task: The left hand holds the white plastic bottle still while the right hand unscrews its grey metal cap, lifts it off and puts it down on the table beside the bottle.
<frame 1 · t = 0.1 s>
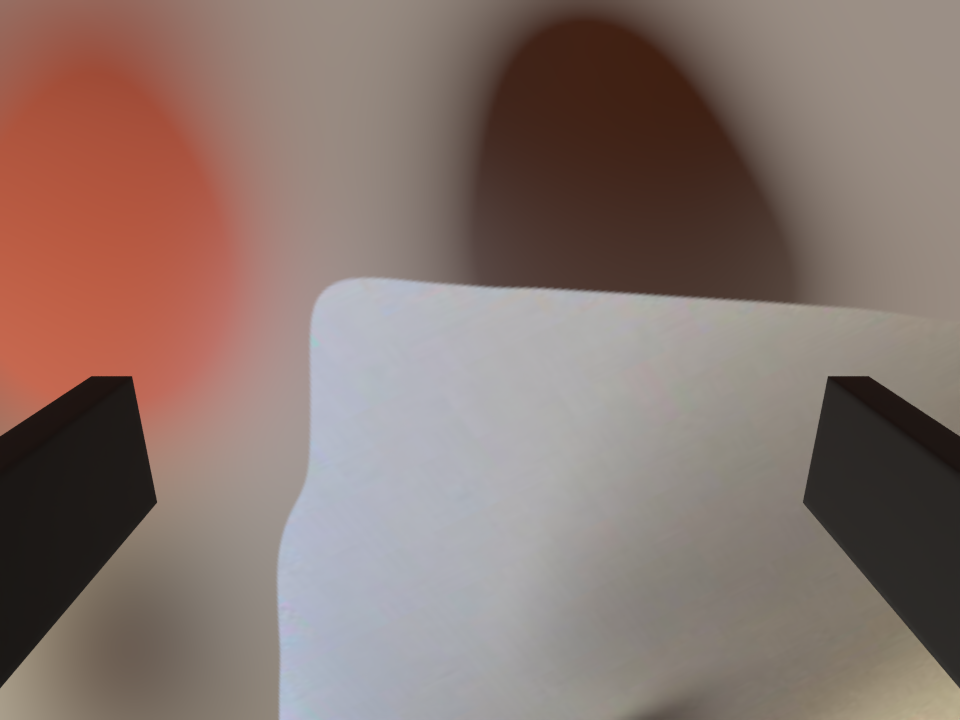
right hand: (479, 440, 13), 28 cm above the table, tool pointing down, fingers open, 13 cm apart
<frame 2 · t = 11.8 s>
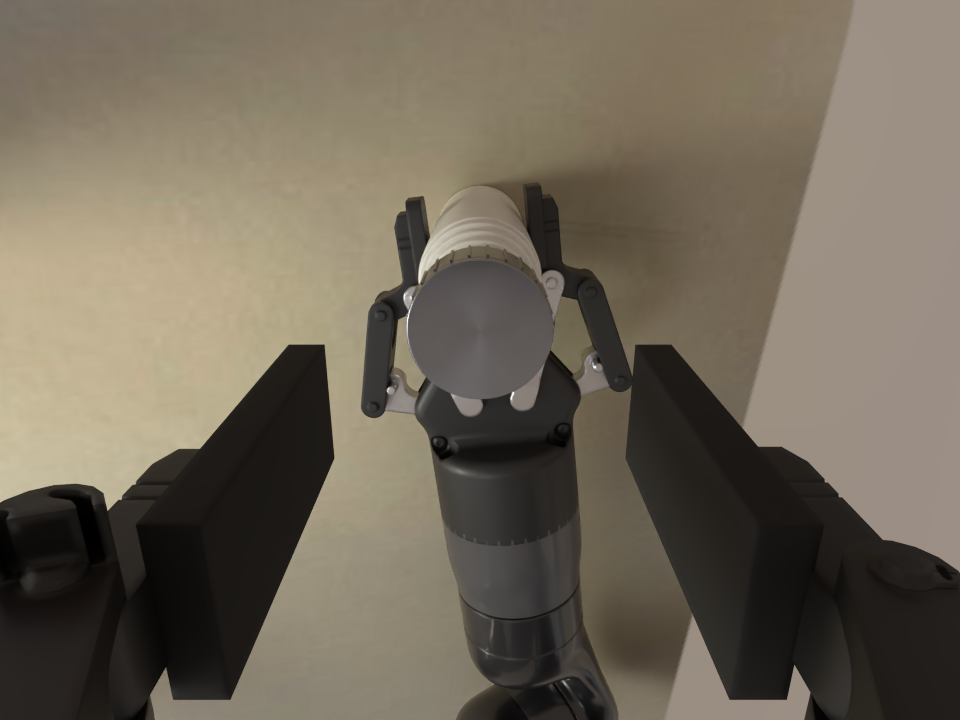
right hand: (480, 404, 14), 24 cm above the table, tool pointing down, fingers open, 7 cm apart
left hand: (472, 193, 30), fingers closed on bottle, 4 cm apart
cap: (480, 329, 19), point 19 cm above the table, screwed on, not yet turned
bottle: (479, 229, 37), on the table, touching left hand
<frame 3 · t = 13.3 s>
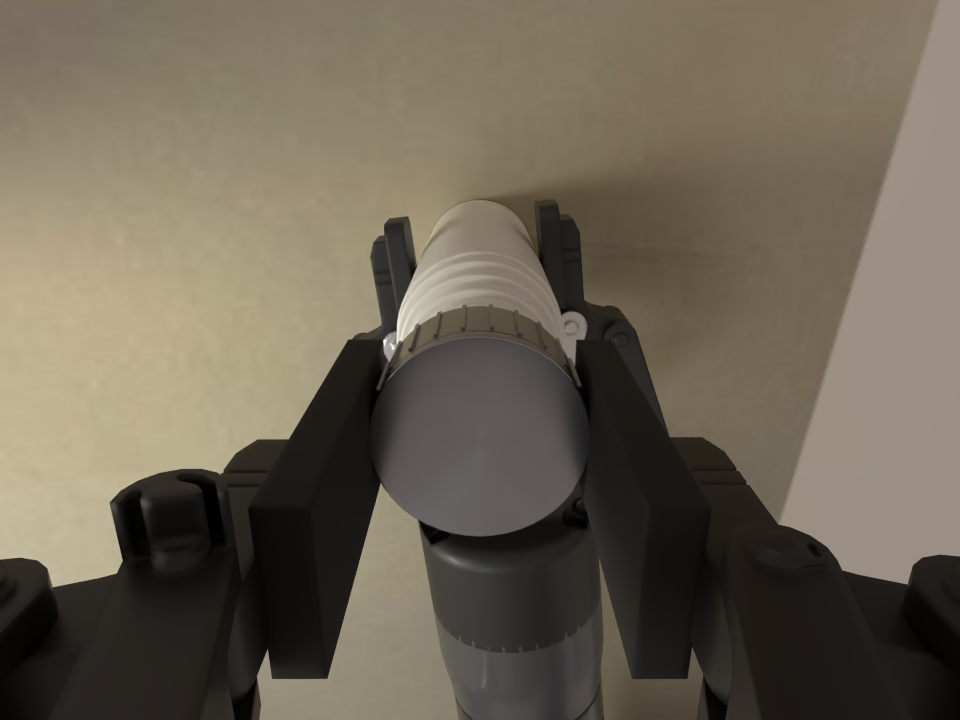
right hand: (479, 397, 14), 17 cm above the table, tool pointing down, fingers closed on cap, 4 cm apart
left hand: (470, 213, 23), fingers closed on bottle, 4 cm apart
cap: (479, 435, 13), point 19 cm above the table, screwed on, not yet turned, touching right hand
bottle: (479, 252, 30), on the table, touching left hand
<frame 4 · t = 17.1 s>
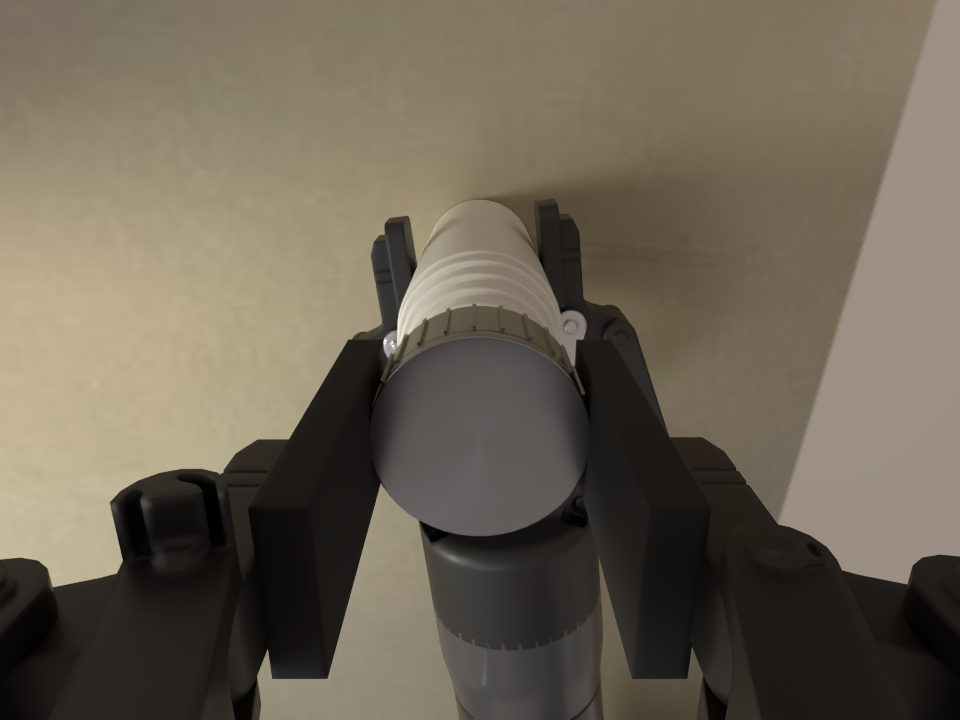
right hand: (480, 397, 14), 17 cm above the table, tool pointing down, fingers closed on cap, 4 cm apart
left hand: (470, 213, 24), fingers closed on bottle, 4 cm apart
cap: (479, 435, 13), point 19 cm above the table, turned 139° so far, risen 0.1 cm, still on its thread, touching right hand
bottle: (479, 251, 30), on the table, touching left hand
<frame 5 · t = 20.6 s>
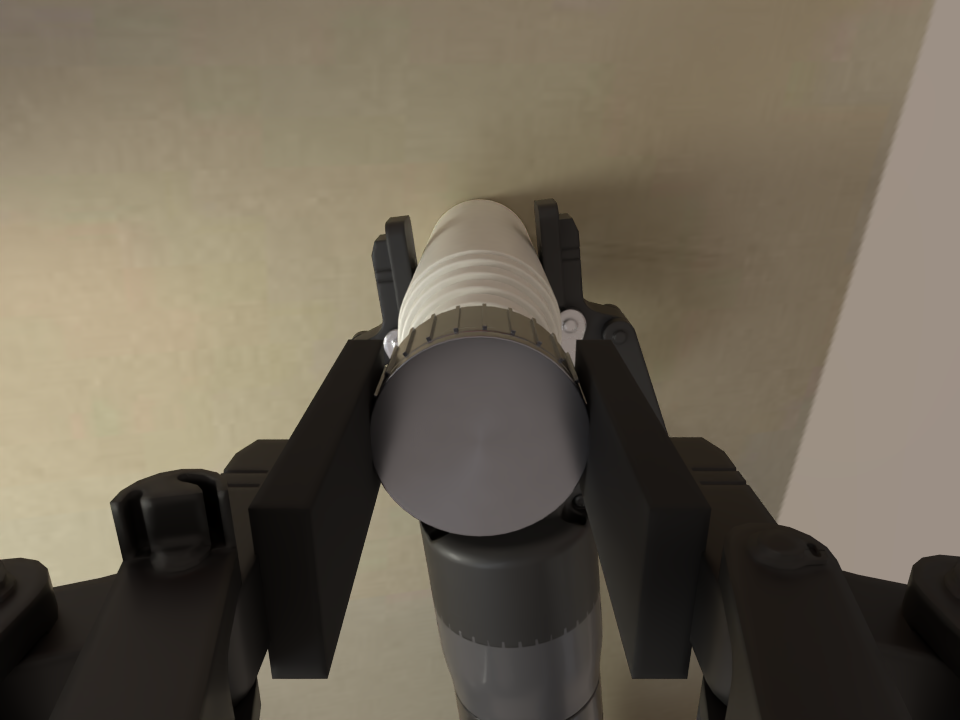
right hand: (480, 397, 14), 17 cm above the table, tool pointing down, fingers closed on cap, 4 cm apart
left hand: (470, 212, 24), fingers closed on bottle, 4 cm apart
cap: (479, 435, 13), point 19 cm above the table, turned 277° so far, risen 0.3 cm, still on its thread, touching right hand
bottle: (479, 251, 31), on the table, touching left hand
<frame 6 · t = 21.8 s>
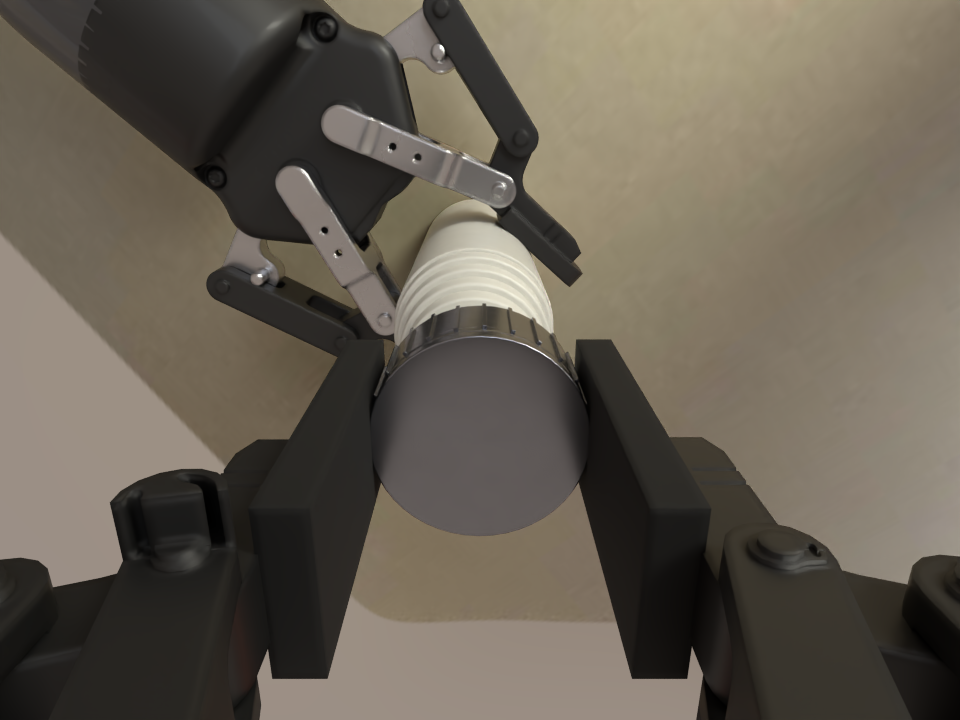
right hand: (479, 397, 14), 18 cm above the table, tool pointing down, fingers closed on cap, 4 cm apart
left hand: (524, 324, 26), fingers closed on bottle, 4 cm apart
cap: (479, 435, 13), point 20 cm above the table, off its thread, touching right hand
bottle: (474, 250, 31), on the table, touching left hand
when the right hand's fingers open (1 cm above the table, at t = 26.6 s): cap drops 2 cm, point 2 cm above the table.
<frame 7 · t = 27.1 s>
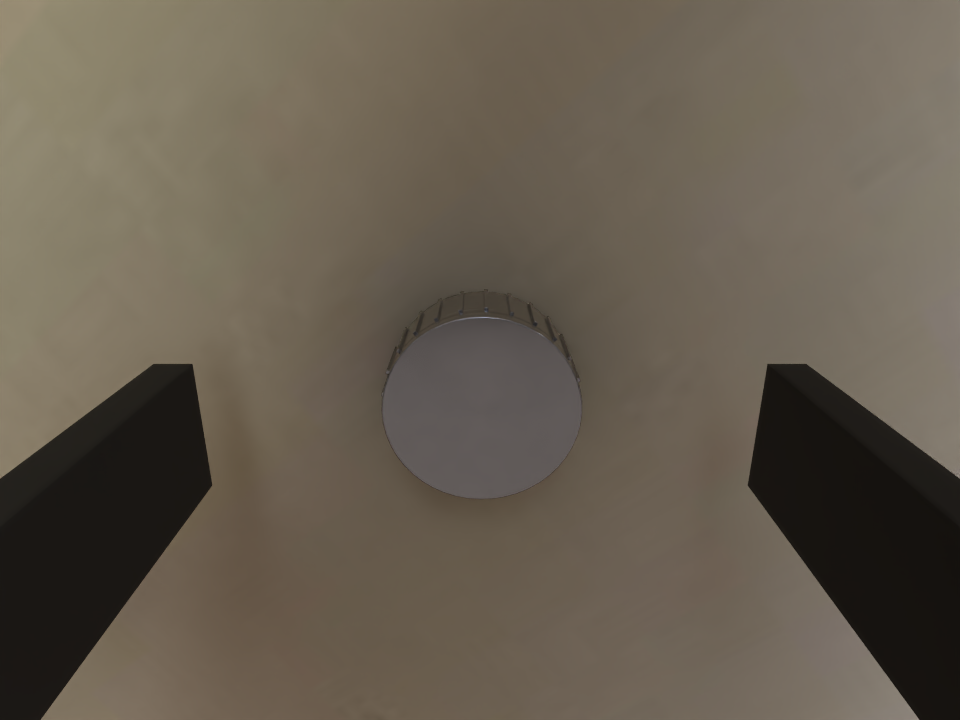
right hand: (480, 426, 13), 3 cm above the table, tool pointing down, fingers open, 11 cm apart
cap: (481, 407, 14), point 2 cm above the table, off its thread
when the left hand's fingers open (6 cm above the table, at t = 27.9 s): bottle stays where it is, on the table.
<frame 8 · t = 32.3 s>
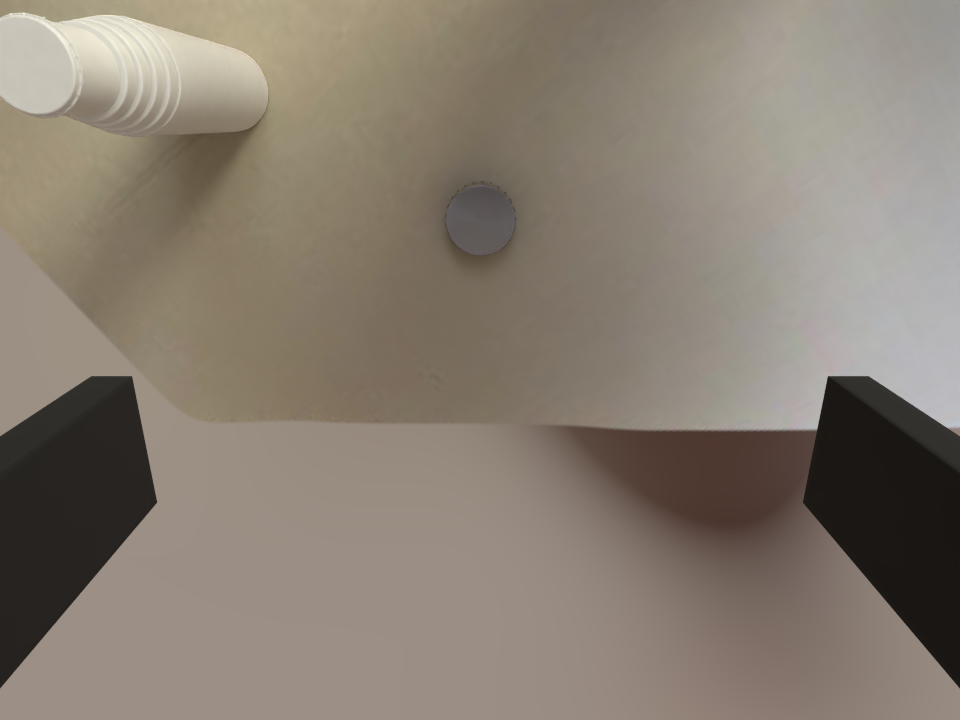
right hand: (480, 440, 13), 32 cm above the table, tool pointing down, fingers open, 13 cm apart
cap: (480, 220, 40), point 2 cm above the table, off its thread
bottle: (229, 90, 39), on the table
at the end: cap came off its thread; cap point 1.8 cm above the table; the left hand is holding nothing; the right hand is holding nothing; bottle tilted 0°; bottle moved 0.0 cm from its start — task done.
